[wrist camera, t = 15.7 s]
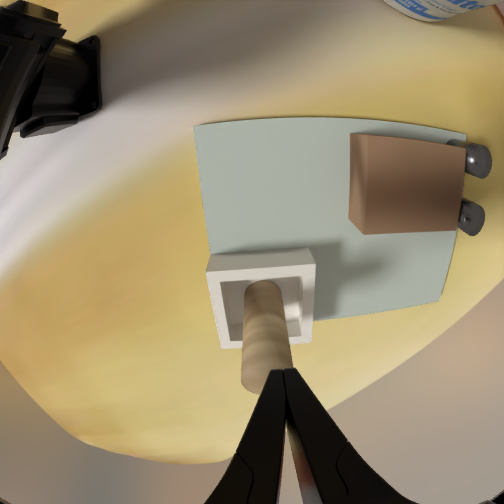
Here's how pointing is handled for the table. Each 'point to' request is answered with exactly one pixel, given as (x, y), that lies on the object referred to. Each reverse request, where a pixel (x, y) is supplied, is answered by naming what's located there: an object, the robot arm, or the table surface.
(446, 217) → the cardboard brown brick
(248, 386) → the dowel
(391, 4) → the supplement tub
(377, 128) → the mat
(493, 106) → the table surface
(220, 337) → the tray
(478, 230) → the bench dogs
